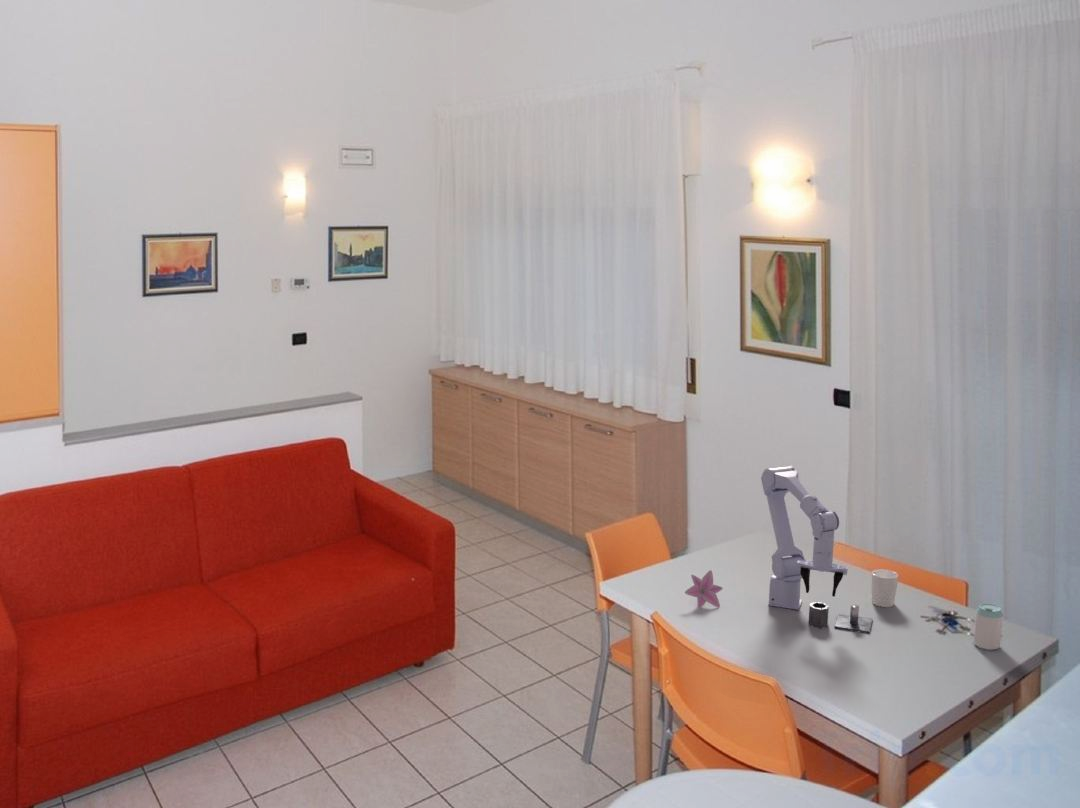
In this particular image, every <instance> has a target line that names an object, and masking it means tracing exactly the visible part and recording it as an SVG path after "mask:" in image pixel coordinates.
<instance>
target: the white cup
mask: <svg viewBox="0 0 1080 808" xmlns="http://www.w3.org/2000/svg"><path fill="white" fill-rule="evenodd" d="M898 579H899V574H898V573H897V572H896V571H893V570H891V569H882V568H881V569H879V568H878V569H874V570H872V572H871V603H872V604H873V605H874V604H875V605H874V606H877V607H880V606H881V607H880V608H892V607H893V606H894V605H895V601H896V599H895V598H896V594H897V587H898Z"/></svg>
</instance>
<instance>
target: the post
mask: <svg viewBox="0 0 1080 808" xmlns="http://www.w3.org/2000/svg"><path fill="white" fill-rule="evenodd" d="M849 610H850V613H849V614H844V613H838V614H837V617H836V621H835V625H834V628H835V629H837V630H844V629H845V630H844V631H850V630H853V632H857V631H860V632H859V633H863V632H866V633H865V634H870V632H871V627H872V623H873V618H870V617H864V616H859V615H860V614H859V612H860V611H859V610H860V606H859V605H858V604H851V605H850V609H849Z"/></svg>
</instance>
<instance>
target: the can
mask: <svg viewBox="0 0 1080 808" xmlns="http://www.w3.org/2000/svg"><path fill="white" fill-rule="evenodd" d="M978 606H979V607H978V608H977V609H976V610H975V622H974V629H973V630H974V631H973V641H972V642H973V644H974V645H975V646H976V647H977V646H978V647H977V648H979V649H981V650H985V651H995V650H998V649H999V648H1000V647H1001V641H1002V640H1001V639H1002V638H1001V637H1002V631H1003V630H1002V629H1003V628H1002V627H1003V619H1004V614H1003V612H1002V608H1001V607H999V605H997V604H992V603H981V604H980V605H978ZM994 649H995V650H994Z"/></svg>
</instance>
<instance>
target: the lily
mask: <svg viewBox="0 0 1080 808" xmlns="http://www.w3.org/2000/svg"><path fill="white" fill-rule="evenodd" d="M690 577H691V580H692V583H693V585H692V586H690V587H689V588H687V589H686V590H685V591H684V594H685V595H687V596H691V597H693V598H697V608H698V609H701V608H703V606H704V605H706V603H709V604H710V605H712V606H713V607H716V608H717V609H718V608H721V604H720V601H719V598H718V596H717V594H718V593H719V592H721V591H722V590H723V587H722V586H720V585H718V584H714V574H713V571H712V569H710V570H708V571H707V572H706V573H705V575H704V576H703V577H702V578H700V577H698V576H696V575H695V574H691V576H690Z"/></svg>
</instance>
